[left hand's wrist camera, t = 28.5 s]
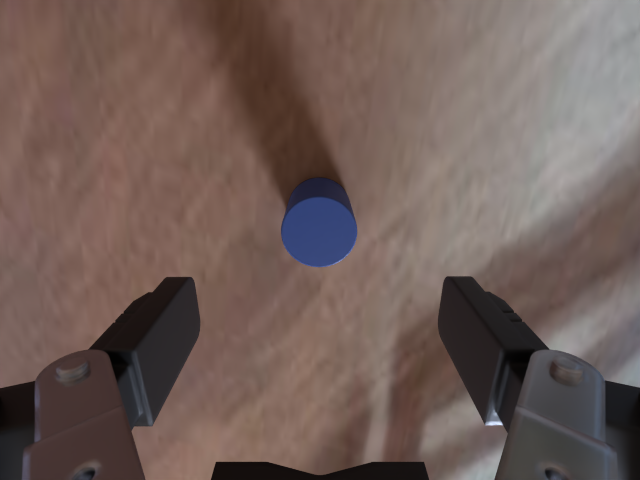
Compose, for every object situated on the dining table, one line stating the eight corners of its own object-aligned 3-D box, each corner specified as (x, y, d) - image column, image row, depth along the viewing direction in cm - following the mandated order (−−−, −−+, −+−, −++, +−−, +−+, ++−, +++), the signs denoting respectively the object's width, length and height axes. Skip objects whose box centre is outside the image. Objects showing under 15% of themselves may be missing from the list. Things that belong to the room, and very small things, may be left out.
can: (334, 166, 20) (338, 183, 16) (359, 221, 21) (369, 250, 17) (277, 193, 21) (267, 215, 16) (305, 245, 22) (301, 278, 18)
